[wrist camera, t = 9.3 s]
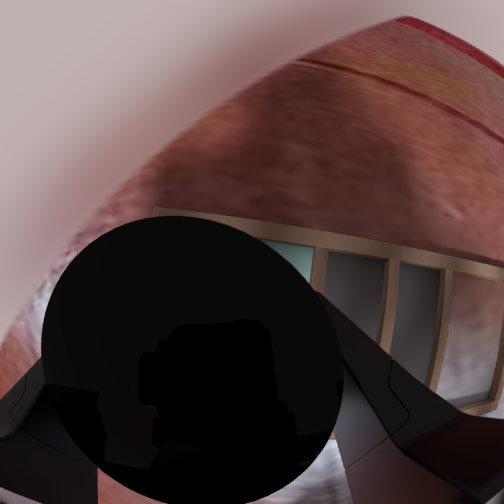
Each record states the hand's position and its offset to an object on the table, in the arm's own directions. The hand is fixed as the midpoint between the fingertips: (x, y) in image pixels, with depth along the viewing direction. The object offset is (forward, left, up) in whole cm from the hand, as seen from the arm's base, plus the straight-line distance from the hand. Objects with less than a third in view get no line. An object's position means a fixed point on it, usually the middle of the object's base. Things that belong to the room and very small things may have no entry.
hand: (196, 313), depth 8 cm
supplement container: (-1, -1, -7) cm, 7 cm away
